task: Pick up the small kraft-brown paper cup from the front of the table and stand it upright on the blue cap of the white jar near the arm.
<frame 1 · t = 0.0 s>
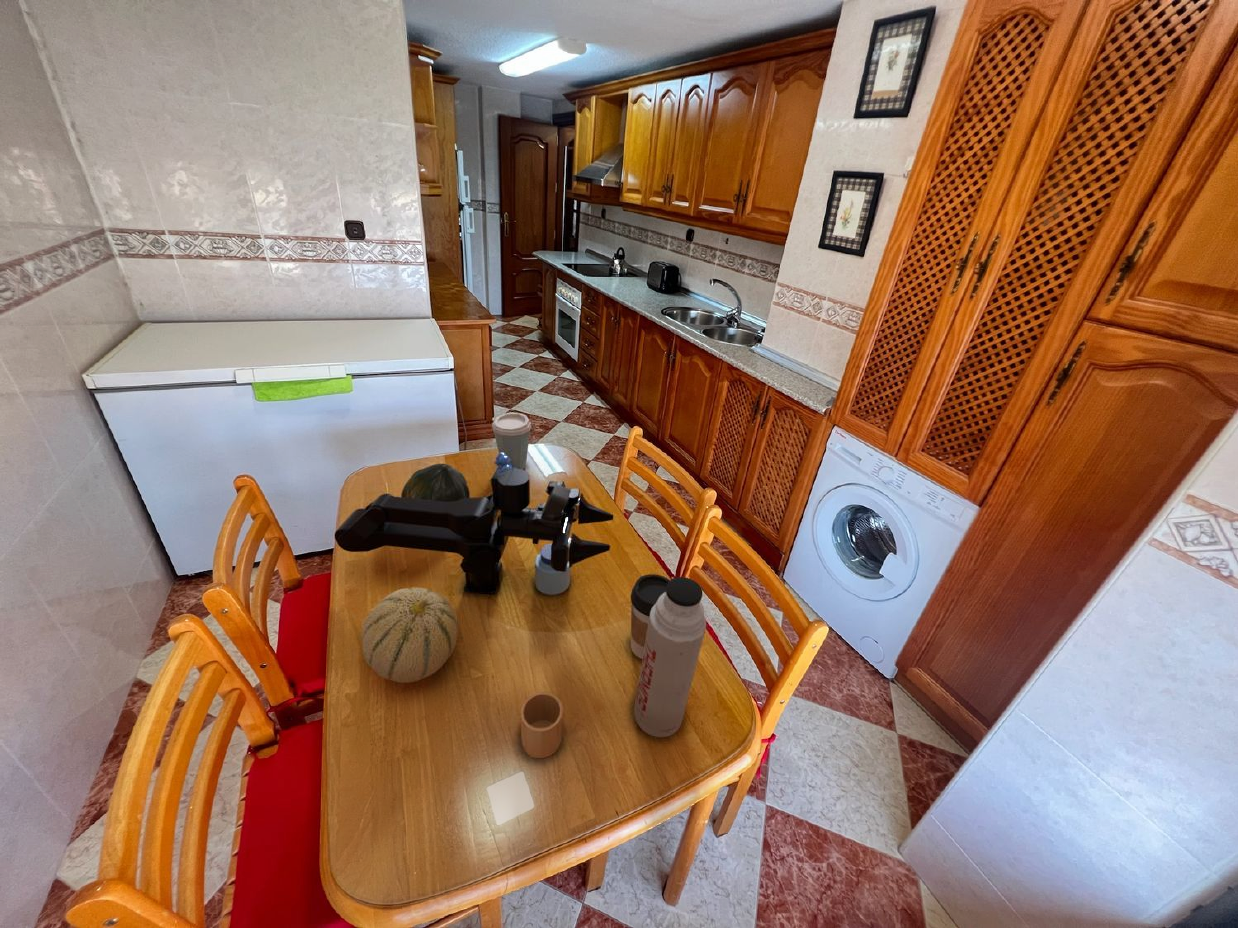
hand: (611, 531, 94), 17 cm above the table, tool horizontal, fingers open, 9 cm apart
squash: (439, 514, 121), on the table
disposable coffee cup: (512, 467, 142), on the table
cantaloupe: (416, 663, 85), on the table
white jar: (552, 582, 104), on the table
thermos bottle: (657, 714, 81), on the table
grapes: (508, 492, 131), on the table
coffee cup: (646, 647, 92), on the table
cup: (541, 738, 76), on the table
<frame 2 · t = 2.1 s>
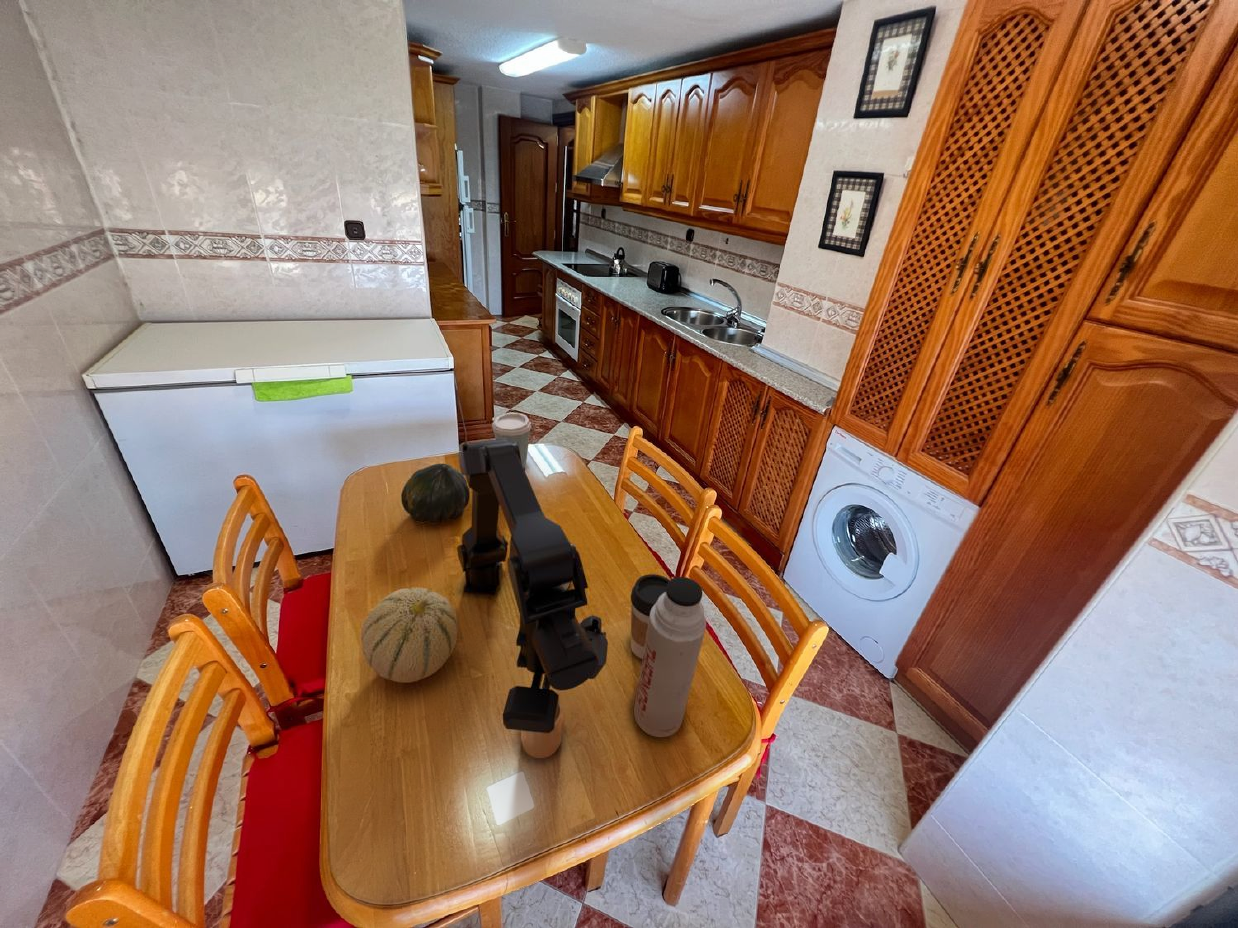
hand: (542, 697, 71), 10 cm above the table, tool pointing down, fingers open, 9 cm apart
nothing on the table moved.
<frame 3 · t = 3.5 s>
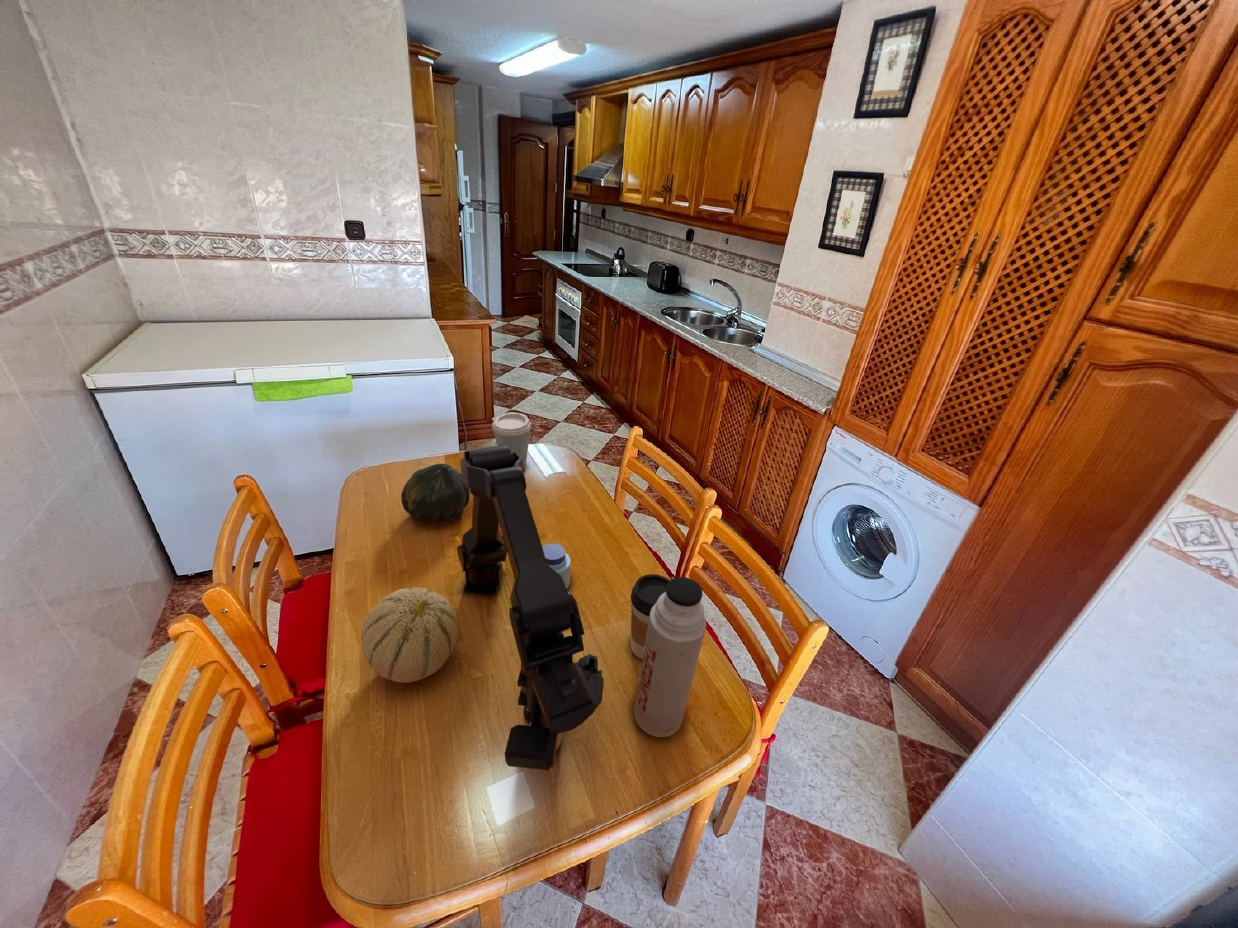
hand: (541, 730, 75), 2 cm above the table, tool pointing down, fingers closed on cup, 6 cm apart
cup: (541, 738, 76), on the table, touching gripper
everything else where it was.
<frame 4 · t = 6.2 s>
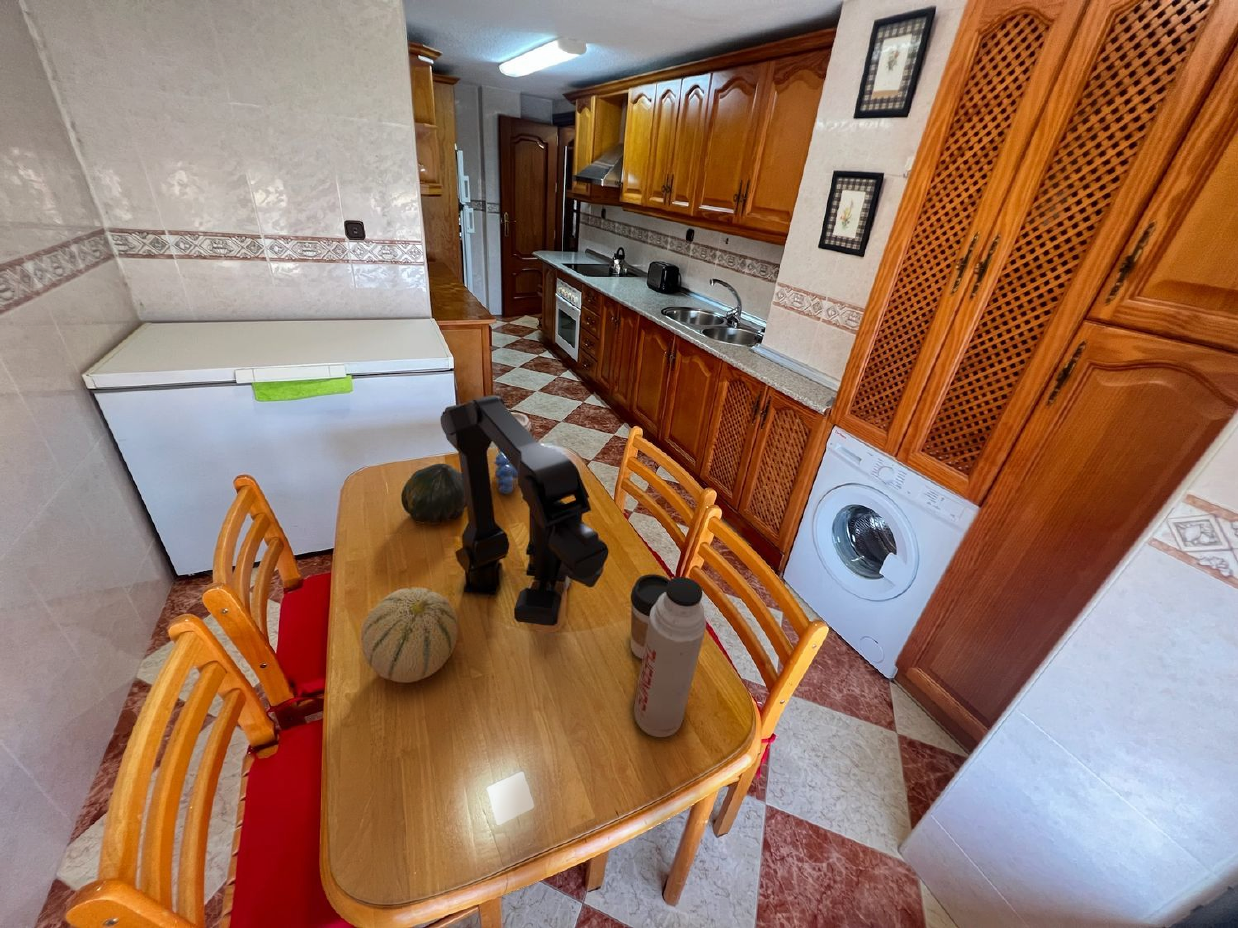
hand: (546, 609, 81), 13 cm above the table, tool pointing down, fingers closed on cup, 6 cm apart
cup: (546, 617, 82), point 11 cm above the table, touching gripper
everything else where it was.
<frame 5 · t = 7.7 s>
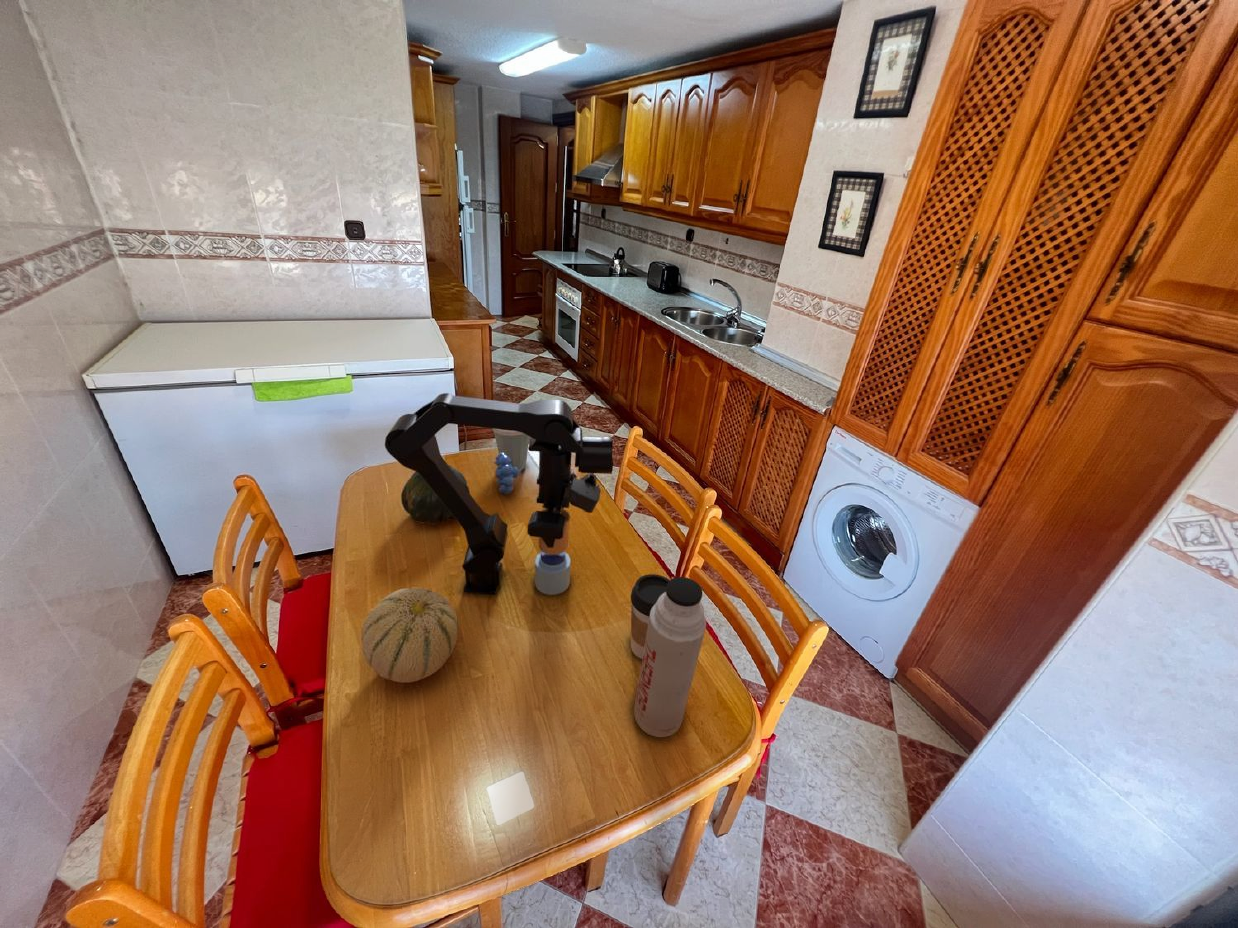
hand: (553, 536, 98), 12 cm above the table, tool pointing down, fingers closed on cup, 6 cm apart
cup: (553, 544, 99), point 10 cm above the table, touching gripper
everything else where it was.
when the fingers open (10 cm above the table, at t = 8.8 s): cup stays where it is, resting on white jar.
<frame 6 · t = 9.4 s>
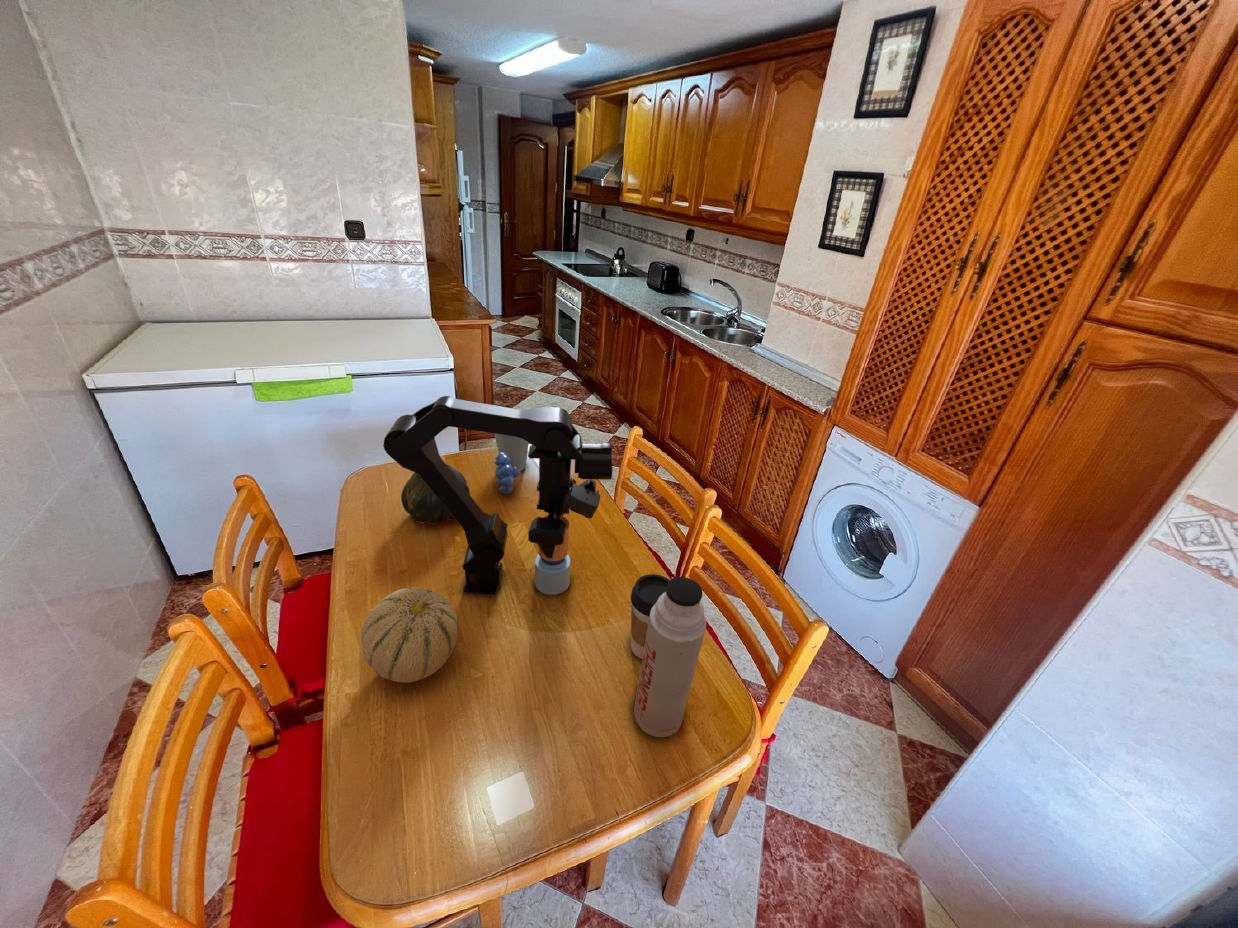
hand: (553, 542, 99), 11 cm above the table, tool pointing down, fingers open, 9 cm apart
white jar: (552, 582, 104), on the table, touching cup
cup: (553, 551, 100), point 8 cm above the table, touching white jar
everything else where it was.
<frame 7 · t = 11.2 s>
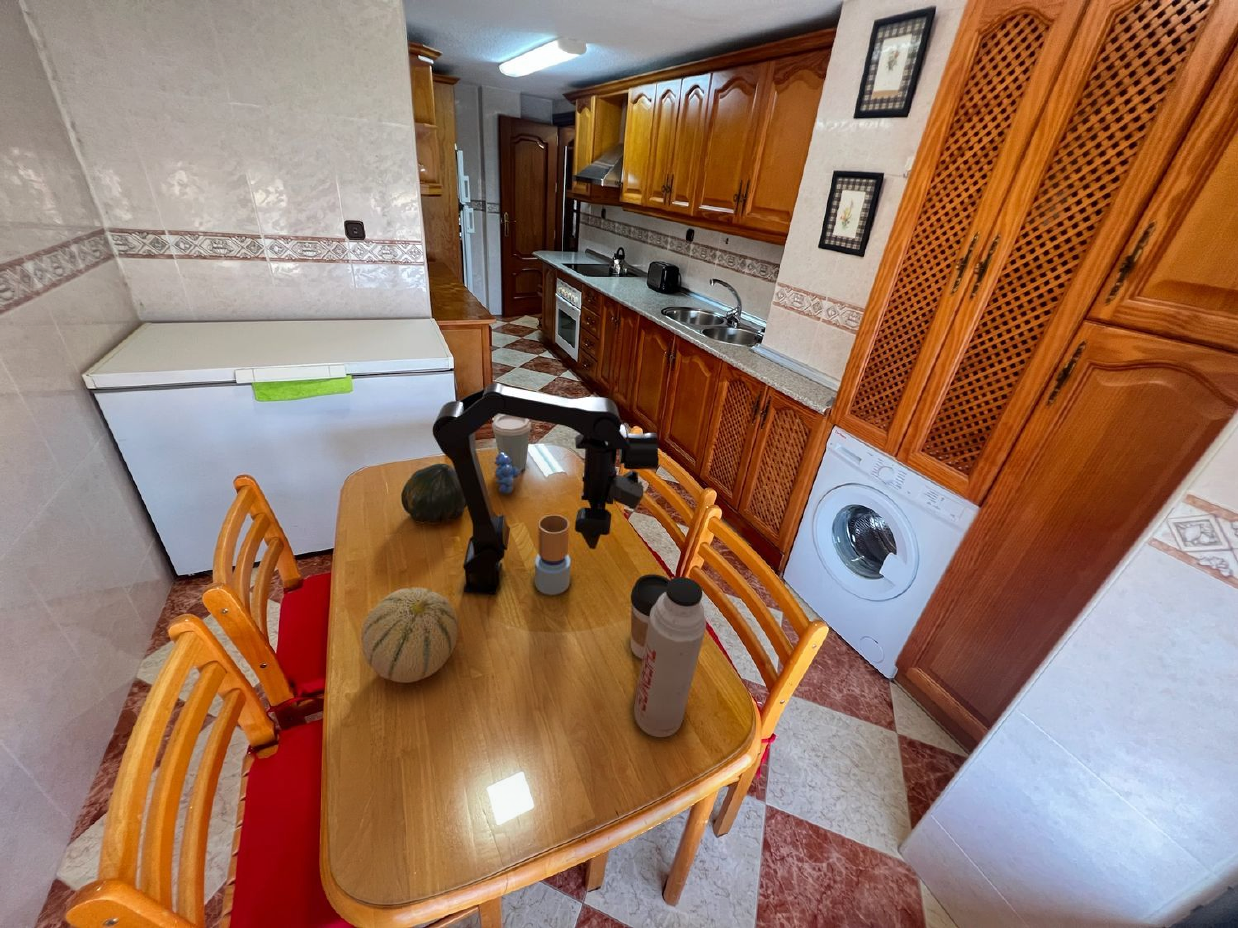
hand: (595, 533, 99), 13 cm above the table, tool pointing down, fingers open, 9 cm apart
nothing on the table moved.
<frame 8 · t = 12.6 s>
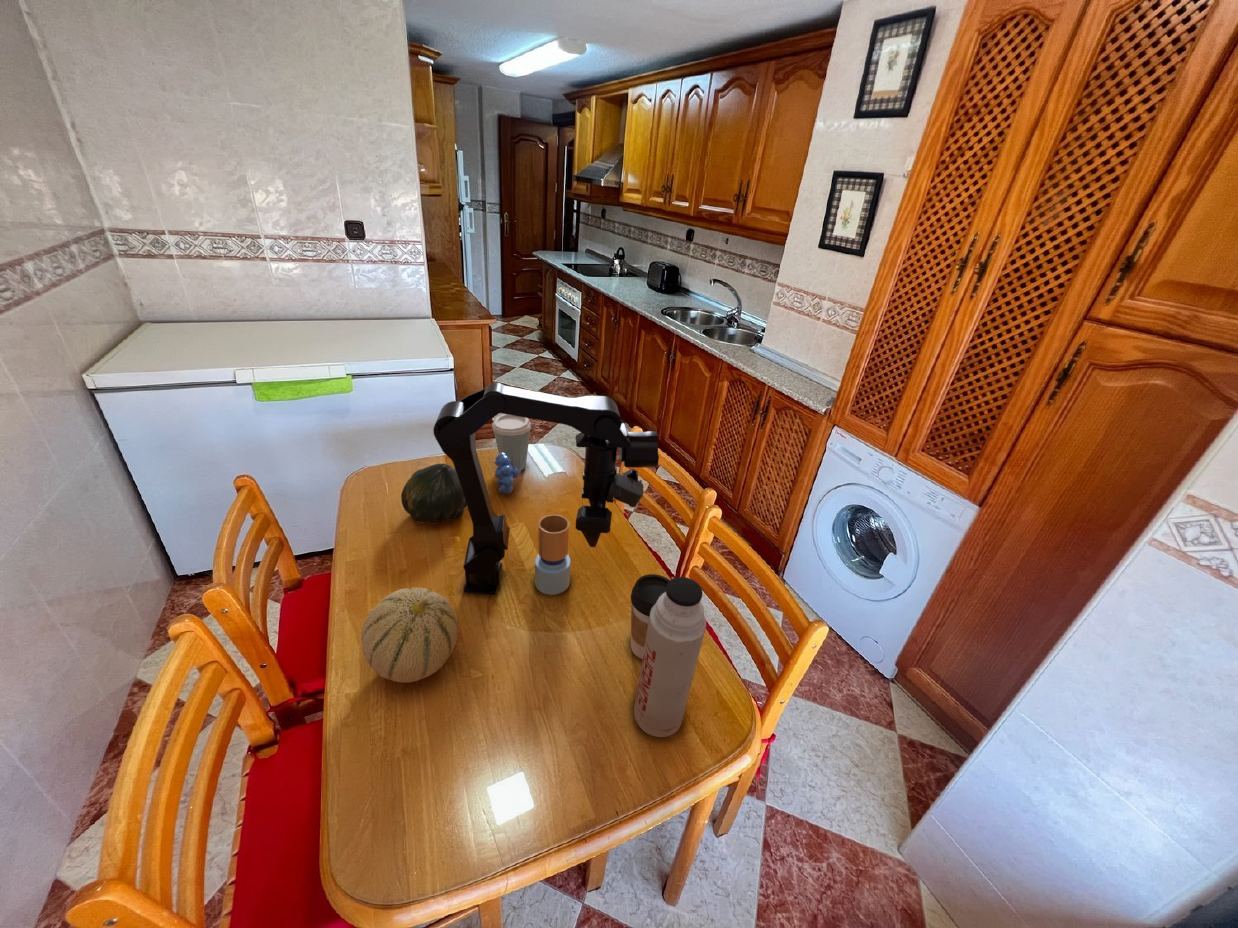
hand: (594, 531, 99), 13 cm above the table, tool pointing down, fingers open, 9 cm apart
nothing on the table moved.
at the end: cup 0.0 cm off-centre on the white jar, point 8.5 cm above the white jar's base; cup tilted 0°; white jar tilted 0° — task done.
